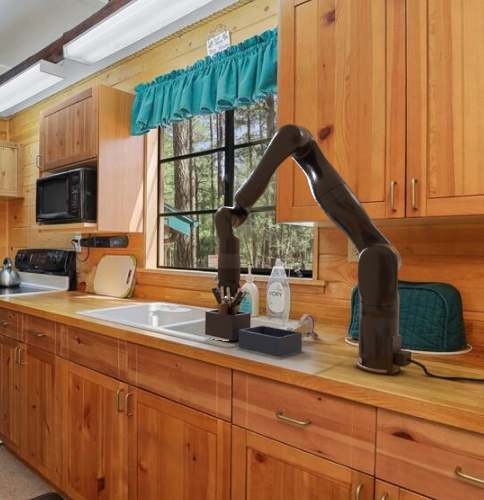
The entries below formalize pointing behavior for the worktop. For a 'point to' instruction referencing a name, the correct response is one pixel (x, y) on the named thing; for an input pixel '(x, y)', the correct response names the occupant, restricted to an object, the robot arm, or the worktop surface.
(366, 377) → the worktop surface
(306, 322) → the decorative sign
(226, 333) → the upper tote
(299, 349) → the box
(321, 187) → the robot arm
